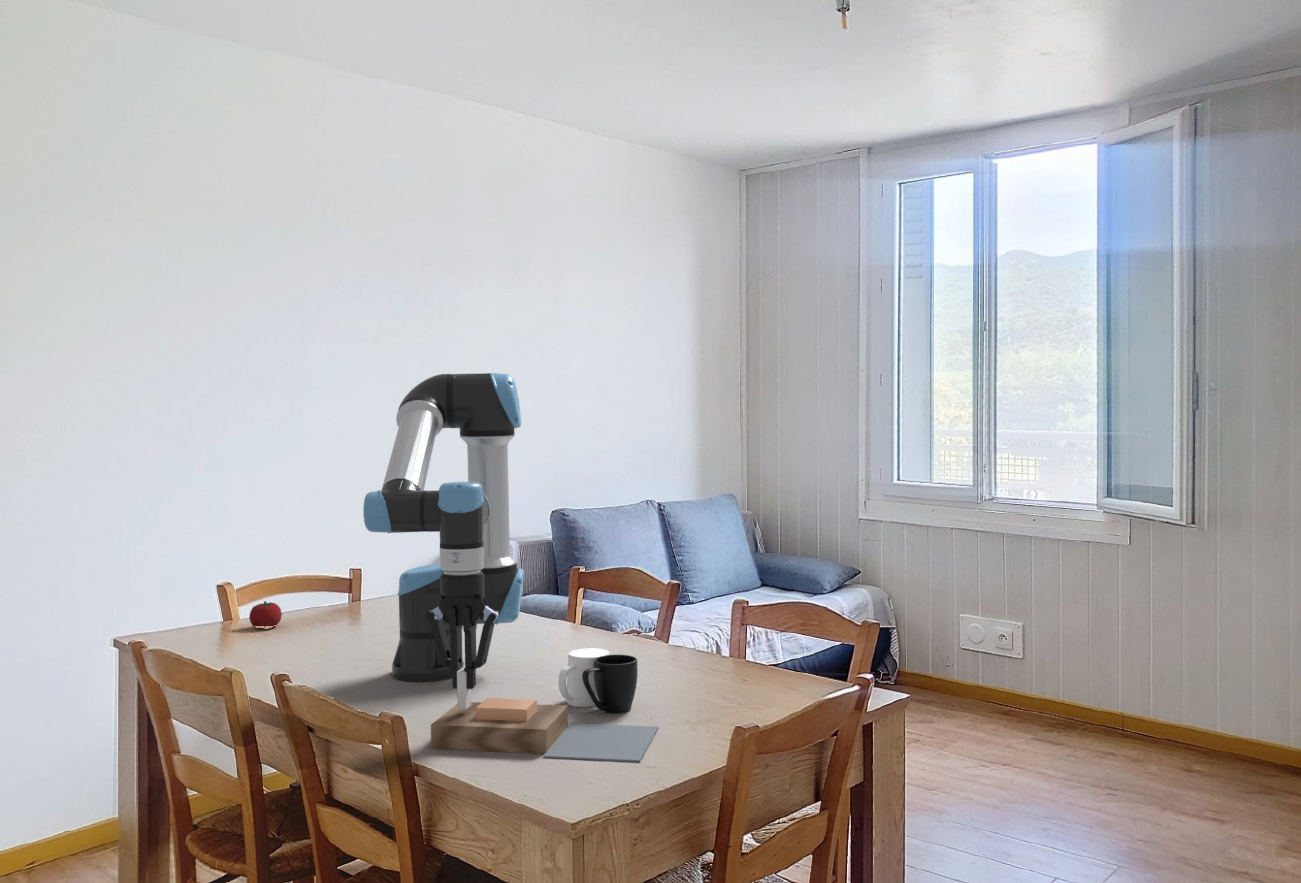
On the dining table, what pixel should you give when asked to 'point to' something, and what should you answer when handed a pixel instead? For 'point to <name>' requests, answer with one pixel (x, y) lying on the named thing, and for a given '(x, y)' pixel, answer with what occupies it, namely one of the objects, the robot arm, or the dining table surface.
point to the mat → (602, 742)
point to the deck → (499, 730)
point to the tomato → (265, 614)
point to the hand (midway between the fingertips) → (464, 706)
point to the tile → (506, 709)
